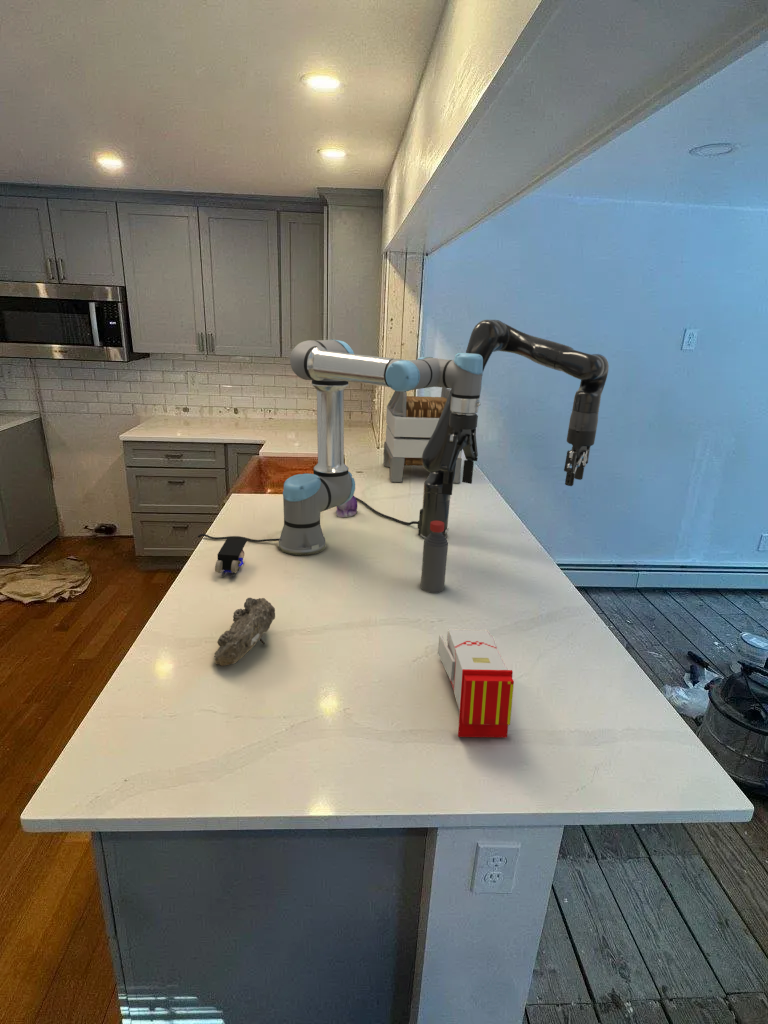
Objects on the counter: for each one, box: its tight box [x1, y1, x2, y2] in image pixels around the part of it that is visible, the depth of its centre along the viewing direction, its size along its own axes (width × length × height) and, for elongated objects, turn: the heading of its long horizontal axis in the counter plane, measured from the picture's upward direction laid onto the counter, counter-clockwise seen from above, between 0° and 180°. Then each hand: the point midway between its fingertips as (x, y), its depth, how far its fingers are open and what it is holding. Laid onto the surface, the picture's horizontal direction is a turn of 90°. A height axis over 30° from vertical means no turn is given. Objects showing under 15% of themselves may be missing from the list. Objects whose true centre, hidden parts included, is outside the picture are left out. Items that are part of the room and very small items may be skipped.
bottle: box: [420, 531, 449, 594], centre depth 159 cm, size 7×7×19 cm
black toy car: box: [214, 538, 248, 578], centre depth 166 cm, size 7×8×15 cm
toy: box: [437, 628, 515, 738], centre depth 117 cm, size 12×13×30 cm
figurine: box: [335, 494, 358, 518], centre depth 214 cm, size 9×10×15 cm
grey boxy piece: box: [383, 387, 463, 484], centre depth 268 cm, size 34×33×41 cm
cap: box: [430, 521, 444, 532], centre depth 156 cm, size 4×4×2 cm
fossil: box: [214, 597, 276, 667], centre depth 130 cm, size 22×10×15 cm
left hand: (457, 488), depth 160 cm, fingers open, 13 cm apart
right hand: (573, 482), depth 165 cm, fingers open, 8 cm apart
